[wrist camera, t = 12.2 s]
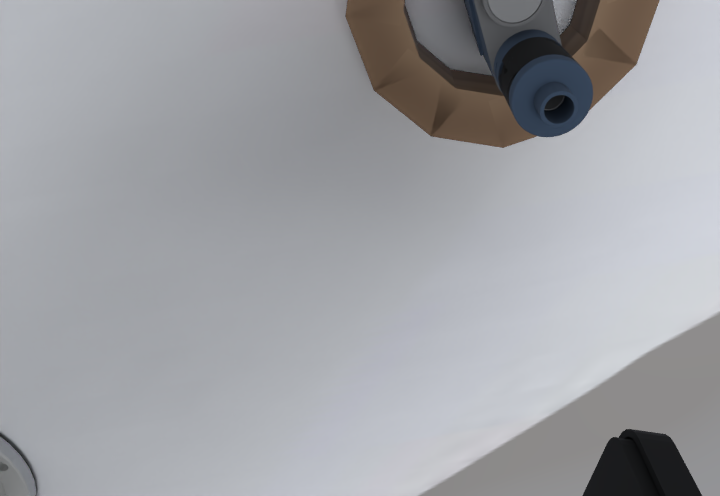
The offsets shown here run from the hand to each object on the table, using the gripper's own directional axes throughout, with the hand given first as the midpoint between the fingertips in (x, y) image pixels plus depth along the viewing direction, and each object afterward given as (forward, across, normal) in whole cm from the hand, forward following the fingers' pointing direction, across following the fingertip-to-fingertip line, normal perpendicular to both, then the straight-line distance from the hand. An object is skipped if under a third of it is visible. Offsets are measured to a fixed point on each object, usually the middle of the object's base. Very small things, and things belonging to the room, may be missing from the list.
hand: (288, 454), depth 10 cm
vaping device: (+23, -6, -4) cm, 24 cm away
